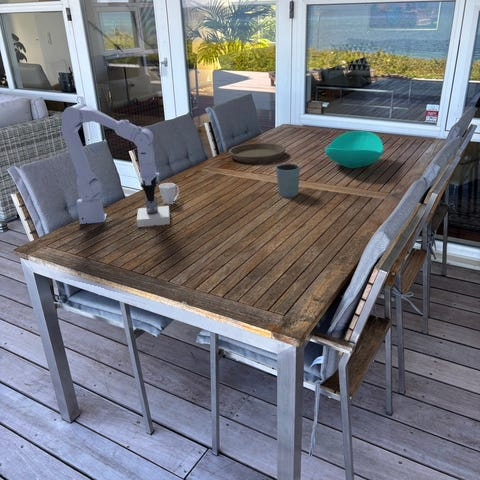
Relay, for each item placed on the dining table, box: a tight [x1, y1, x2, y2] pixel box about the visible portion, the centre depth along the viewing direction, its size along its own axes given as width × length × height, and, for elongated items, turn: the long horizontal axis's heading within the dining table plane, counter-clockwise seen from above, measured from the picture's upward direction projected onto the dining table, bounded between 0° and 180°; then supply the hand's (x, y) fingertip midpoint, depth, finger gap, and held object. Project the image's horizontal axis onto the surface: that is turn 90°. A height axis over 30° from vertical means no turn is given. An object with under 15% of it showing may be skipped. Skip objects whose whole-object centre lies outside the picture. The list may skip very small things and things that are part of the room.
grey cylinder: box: [144, 195, 159, 215], centre depth 183 cm, size 4×4×6 cm
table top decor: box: [324, 130, 384, 169], centre depth 236 cm, size 40×28×13 cm
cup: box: [158, 182, 180, 205], centre depth 201 cm, size 7×10×8 cm
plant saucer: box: [228, 142, 286, 164], centre depth 262 cm, size 31×31×5 cm
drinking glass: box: [275, 163, 301, 198], centre depth 204 cm, size 10×10×12 cm
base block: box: [136, 205, 171, 228], centre depth 185 cm, size 12×12×3 cm
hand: (151, 197), depth 181 cm, fingers open, 7 cm apart
